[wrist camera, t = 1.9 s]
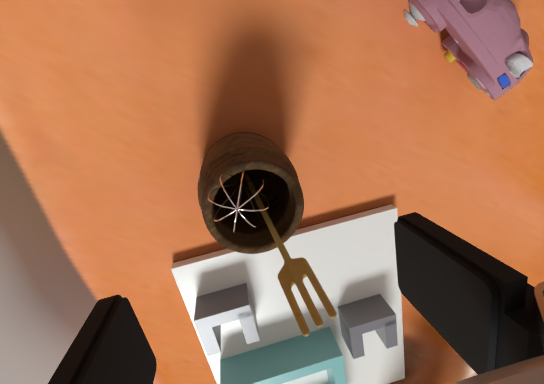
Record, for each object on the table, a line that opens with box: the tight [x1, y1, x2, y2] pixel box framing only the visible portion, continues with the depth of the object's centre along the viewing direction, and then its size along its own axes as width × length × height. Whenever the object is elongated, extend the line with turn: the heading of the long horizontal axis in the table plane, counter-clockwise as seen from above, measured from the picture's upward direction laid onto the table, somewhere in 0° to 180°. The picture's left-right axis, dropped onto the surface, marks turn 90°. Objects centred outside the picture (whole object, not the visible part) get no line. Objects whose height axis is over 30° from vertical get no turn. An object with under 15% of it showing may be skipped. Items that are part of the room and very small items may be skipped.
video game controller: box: [404, 0, 533, 100], centre depth 17 cm, size 10×5×7 cm, turn 52°
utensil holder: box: [198, 132, 337, 337], centre depth 15 cm, size 6×6×12 cm
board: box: [171, 204, 405, 384], centre depth 25 cm, size 20×18×4 cm
